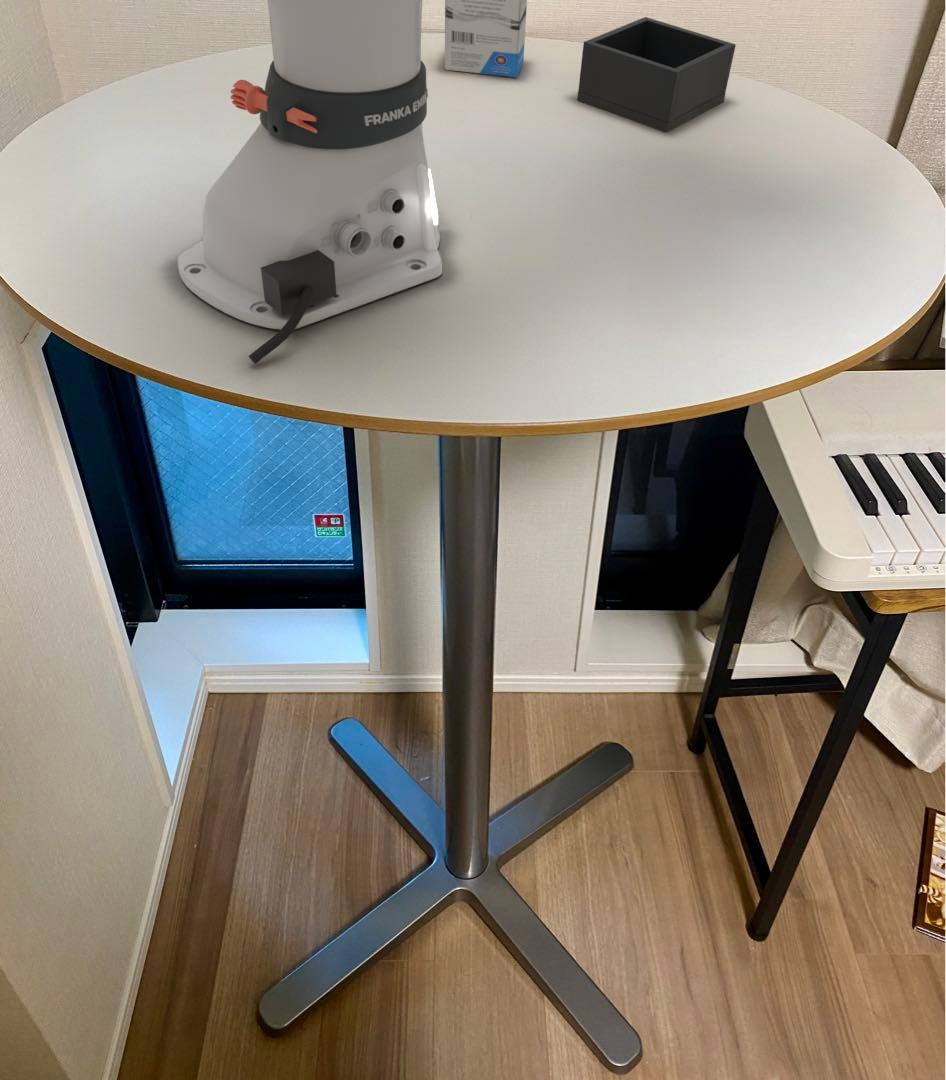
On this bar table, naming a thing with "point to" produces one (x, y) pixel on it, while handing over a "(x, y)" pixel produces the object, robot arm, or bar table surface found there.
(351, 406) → the bar table surface
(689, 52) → the bin
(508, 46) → the ink box
